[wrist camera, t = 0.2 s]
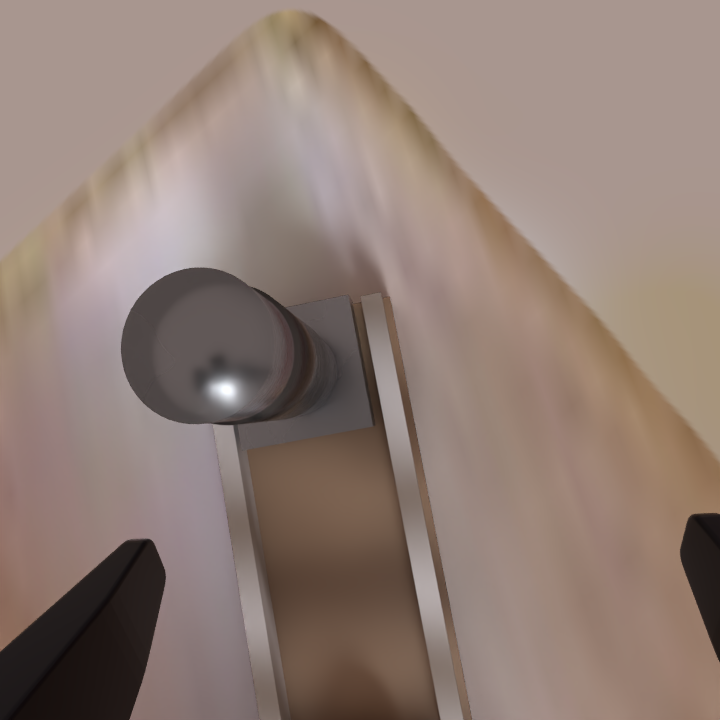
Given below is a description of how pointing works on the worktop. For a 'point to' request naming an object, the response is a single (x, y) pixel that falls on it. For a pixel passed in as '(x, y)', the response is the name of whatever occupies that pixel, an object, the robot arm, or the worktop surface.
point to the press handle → (246, 359)
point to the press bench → (344, 561)
